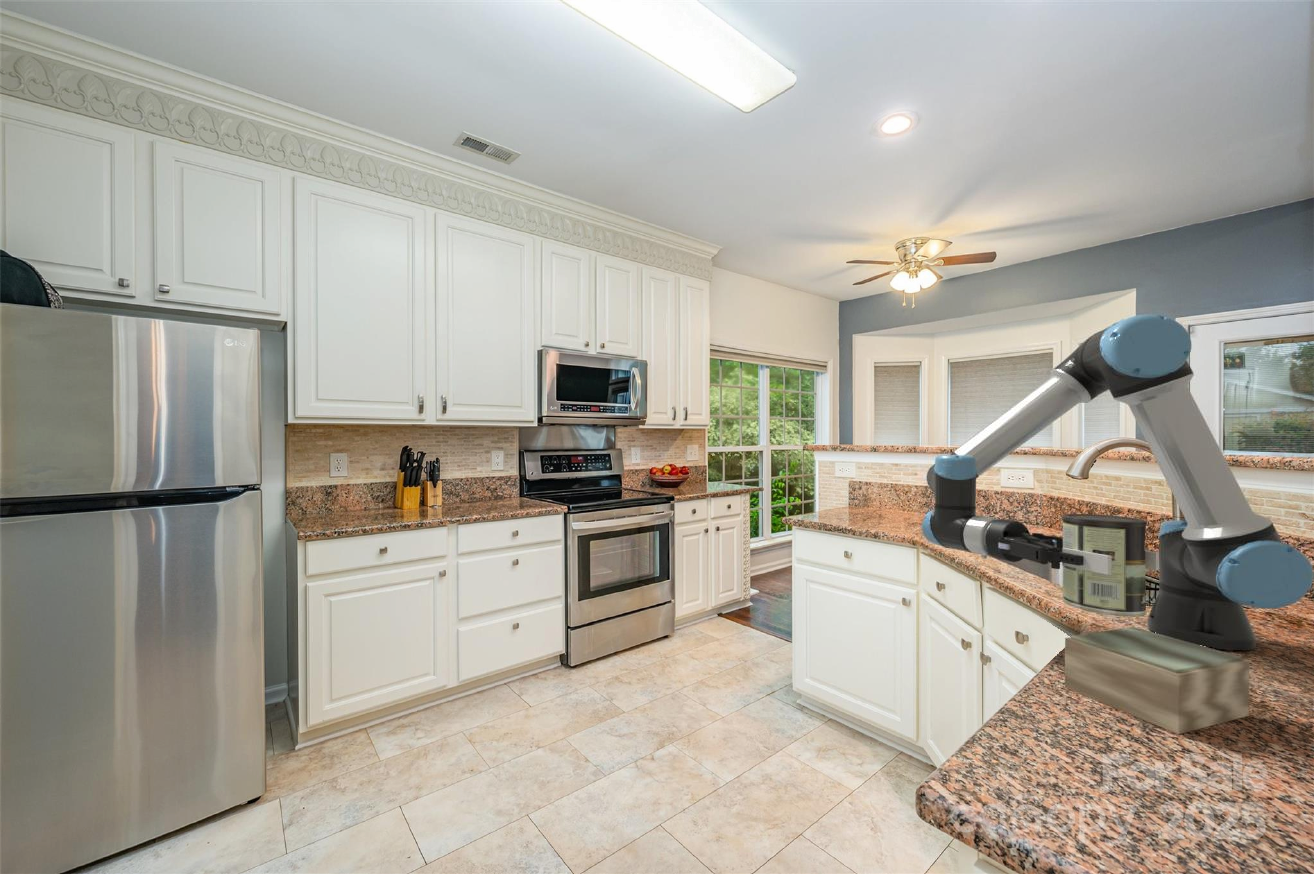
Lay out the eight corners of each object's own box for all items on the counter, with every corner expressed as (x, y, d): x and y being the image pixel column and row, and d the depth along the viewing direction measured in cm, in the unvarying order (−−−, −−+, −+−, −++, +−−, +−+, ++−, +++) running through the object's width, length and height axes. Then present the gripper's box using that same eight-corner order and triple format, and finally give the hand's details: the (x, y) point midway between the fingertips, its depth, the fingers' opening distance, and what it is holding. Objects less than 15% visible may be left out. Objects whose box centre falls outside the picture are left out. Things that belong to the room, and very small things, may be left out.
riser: (1131, 674, 88) (1131, 625, 88) (1249, 715, 75) (1249, 658, 75) (1064, 687, 83) (1065, 635, 83) (1178, 734, 69) (1178, 672, 70)
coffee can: (1119, 600, 88) (1120, 514, 88) (1164, 620, 78) (1164, 523, 78) (1048, 595, 90) (1049, 512, 91) (1082, 614, 80) (1083, 520, 81)
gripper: (1040, 555, 105) (1182, 583, 84) (951, 561, 98) (1081, 593, 77) (1040, 517, 105) (1182, 535, 84) (951, 520, 98) (1081, 541, 77)
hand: (1134, 563), depth 80 cm, fingers closed on coffee can, 10 cm apart
